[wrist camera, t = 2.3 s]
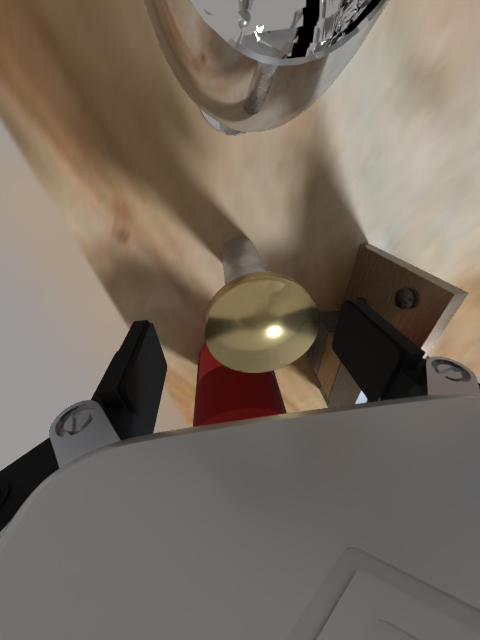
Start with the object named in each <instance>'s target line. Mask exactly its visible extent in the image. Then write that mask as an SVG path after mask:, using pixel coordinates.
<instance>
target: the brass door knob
mask: <svg viewBox="0 0 480 640" xmlns="http://www.w3.org/2000/svg"><path fill="white" fill-rule="evenodd" d="M222 260H223V270H224V280H225V286H223V287H222V288H221V289H220V290H219V291H218V292H217V293H216V295H215V296H214V297H213V299H212V300H211V302H210V304H209V307H208V309H207V313H206V325H205V339H206V343H207V346H208V349H209V351H210V352H211V354H212V355H213V356H214V357H215V358H216V360H218V361H219V362H220V363H221V364H223V365H225V366H226V367H229V368H231V369H234V370H237V371H241V372H247V373H262V372H268V371H273V370H276V369H279V368H282V367H284V366H287V365H288V364H290V363H292V362H294V361H295V360H297V359H298V358H299V357H301V356H302V355H303V354H304V353H305V352H306V351H307V350H308V349H309V348H310V346H311V345H312V344H313V342H314V340H315V338H316V336H317V334H318V330H319V325H320V316H319V311H318V309H317V306H316V304H315V303H314V301H313V299H312V298H311V297H310V295H309V294H308V293H307V291H306V290H305V289H304V288H303V287H302V285H301V284H300V283H298V282H297V281H296V280H294V279H293V278H291V277H289V276H287V275H284V274H281V273H277V272H269V271H268V270H267V268H266V266H265V264H264V262H263V260H262V258H261V256H260V255H259V253H258V251H257V249H256V247H255V245H254V244H253V243H252V242H251V241H250V240H248V239H246V238H235V239H232V240H231V241H229V242H228V243H227V244H226V245H225V247H224V249H223V252H222Z"/></svg>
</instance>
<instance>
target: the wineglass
mask: <svg viewBox="0 0 480 640" xmlns="http://www.w3.org/2000/svg"><path fill="white" fill-rule="evenodd" d="M389 1H390V0H144V4H145V7H146V11H147V14H148V17H149V20H150V22H151V25H152V28H153V30H154V33H155V36H156V38H157V41H158V44H159V46H160V49H161V51H162V53H163V55H164V57H165V59H166V61H167V63H168V65H169V67H170V68H171V70H172V72H173V74H174V76H175V77H176V79H177V80H178V82H179V84H180V85H181V87H182V88H183V89H184V91H185V92H186V93H187V95H188V96H189V97H190V98H191V100H192V101H193V102H194V103H195V104H196V105H197V106H198V107H199V108H200V110H201V112H202V114H203V116H204V117H205V119H206V120H207V122H208V123H209V124H210V125H211V126H212V127H213V128H214V129H216V130H217V131H219V132H221V133H223V134H226V135H234V136H237V135H240V134H244V133H246V132H262V131H267V130H271V129H274V128H277V127H280V126H282V125H284V124H286V123H287V122H289V121H291V120H293V119H294V118H296V117H298V116H299V115H300V114H302V113H303V112H304V111H306V110H307V109H308V108H309V107H310V106H311V105H312V104H313V103H314V102H315V101H316V100H317V99H318V98H319V97H320V96H321V95H322V94H323V93H324V92H325V91H326V90H327V89H328V88H329V87H330V86H331V85H332V84H333V82H334V81H335V80H336V79H337V77H338V76H339V75H340V73H341V72H342V71H343V70H344V68H345V67H346V66H347V64H348V63H349V62H350V61H351V59H352V58H353V57H354V55H355V54H356V53H357V51H358V50H359V48H360V47H361V45H362V44H363V42H364V40H365V39H366V37H367V36H368V34H369V33H370V31H371V29H372V28H373V26H374V25H375V23H376V21H377V20H378V18H379V17H380V15H381V13H382V12H383V10H384V9H385V7H386V6H387V4H388V2H389Z"/></svg>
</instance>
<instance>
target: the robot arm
mask: <svg viewBox="0 0 480 640" xmlns="http://www.w3.org/2000/svg"><path fill="white" fill-rule="evenodd" d="M332 349H333V351H334V352H335V354H336V355H337V357H338V358H339V359H340V361H341V362H342V364H343V365H344V366H345V368H346V369H347V371H348V372H349V374H350V375H351V376H352V378H353V379H354V381H355V382H356V383H357V385H358V386H359V388H360V389H361V390H362V392H363V393H364V395H365V396H366V398H367V399H368V400H369V402H368V403H360V404H353V405H345V406H338V407H330V408H323V409H316V410H309V411H301V412H294V413H287V414H280V415H273V416H266V417H258V418H251V419H244V420H238V421H231V422H224V423H217V424H210V425H203V426H196V427H190V428H183V429H177V430H171V431H166V432H159V433H153V431H154V427H155V422H156V417H157V413H158V408H159V404H160V399H161V395H162V390H163V386H164V381H165V376H166V372H167V363H166V360H165V357H164V354H163V351H162V348H161V345H160V342H159V339H158V336H157V333H156V330H155V327H154V325H153V323H149V321H148V320H143V321H135V322H133V324H132V326H131V328H130V330H129V332H128V334H127V336H126V338H125V340H124V342H123V344H122V346H121V347H120V349H119V351H118V352H116V354H115V355H114V357H113V359H112V361H111V363H110V365H109V367H108V368H107V370H106V372H105V374H104V376H103V378H102V380H101V382H100V384H99V385H98V387H97V389H96V391H95V393H94V395H93V397H92V399H91V400H87V401H81V402H78V403H76V404H74V405H72V406H70V407H68V408H67V409H65V410H64V411H63V412H62V413H61V414H59V415H58V416H57V417H56V419H55V420H54V422H53V423H52V425H51V427H50V430H49V435H50V437H49V438H48V439H46V440H45V441H44V442H42V443H41V444H39V445H38V446H36V447H35V448H33V449H32V450H30V451H29V452H28V453H26V454H25V455H23V456H22V457H20V458H19V459H17V460H16V461H15V462H13V463H12V464H10V465H9V466H7V467H6V468H4V469H3V470H1V471H0V640H480V384H479V383H478V382H477V378H476V376H475V374H474V373H473V372H472V371H471V370H470V369H469V368H467V367H466V366H464V365H463V364H461V363H459V362H457V361H454V360H452V359H449V358H444V357H430V358H429V359H427V361H426V360H425V359H424V358H423V356H424V355H425V353H426V352H425V351H423V350H422V349H421V348H420V347H418V346H417V345H416V344H415V343H413V342H412V341H411V340H410V339H409V338H407V337H406V336H405V335H404V334H402V333H401V332H400V331H399V330H398V329H396V328H395V327H394V326H393V325H391V324H390V323H389V322H388V321H387V320H385V319H384V318H383V317H382V316H380V315H379V314H378V313H377V312H376V311H374V310H373V309H372V308H371V307H369V306H368V305H367V304H366V303H365V302H363V301H362V300H361V299H350V300H346V301H345V303H343V304H342V306H341V310H340V314H339V318H338V322H337V326H336V330H335V333H334V337H333V341H332Z"/></svg>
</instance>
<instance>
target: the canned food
mask: <svg viewBox="0 0 480 640" xmlns="http://www.w3.org/2000/svg"><path fill="white" fill-rule="evenodd" d="M280 414H287V412H286V409H285V406H284V403H283V399H282V396H281V393H280V389H279V386H278V383H277V379H276V376H275V373H274V370H273V371H268V372H262V373H247V372H241V371H237V370H234V369H231V368H229V367H226V366H225V365H223V364H221V363H220V362H219V361H218V360H216V358H215V357H214V356H213V355H212V354H211V352H210V351H209V349H208V346H207V343H206V344H205V346H204V347H203V349H202V351H201V353H200V355H199V360H198V372H197V384H196V396H195V408H194V420H193V427H196V426H203V425H210V424H217V423H224V422H231V421H238V420H244V419H251V418H258V417H266V416H273V415H280Z"/></svg>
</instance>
